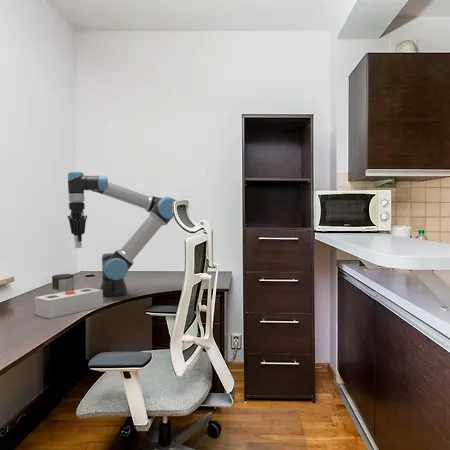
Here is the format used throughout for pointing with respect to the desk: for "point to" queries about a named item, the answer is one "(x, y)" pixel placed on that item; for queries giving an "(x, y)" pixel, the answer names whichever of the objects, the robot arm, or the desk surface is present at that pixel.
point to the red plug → (69, 292)
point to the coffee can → (62, 283)
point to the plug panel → (68, 303)
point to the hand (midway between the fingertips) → (78, 247)
